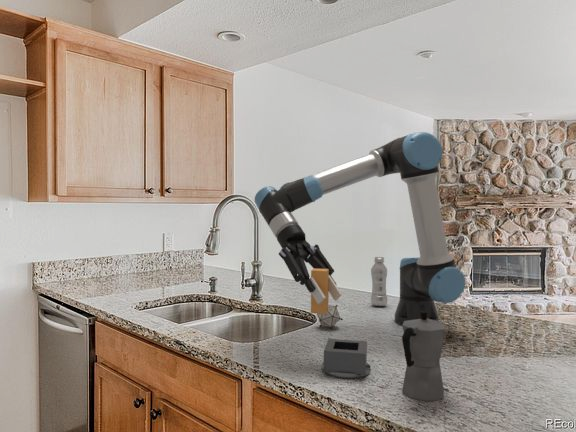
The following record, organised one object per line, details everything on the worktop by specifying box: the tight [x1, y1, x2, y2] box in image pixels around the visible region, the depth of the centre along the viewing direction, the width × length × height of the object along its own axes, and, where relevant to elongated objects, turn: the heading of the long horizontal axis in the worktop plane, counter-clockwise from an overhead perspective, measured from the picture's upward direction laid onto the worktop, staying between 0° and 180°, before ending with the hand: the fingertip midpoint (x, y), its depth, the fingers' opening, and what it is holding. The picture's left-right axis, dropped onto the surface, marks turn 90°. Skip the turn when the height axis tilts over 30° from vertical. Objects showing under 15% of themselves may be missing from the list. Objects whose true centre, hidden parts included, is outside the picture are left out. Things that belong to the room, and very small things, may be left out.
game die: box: [316, 304, 344, 331], centre depth 149 cm, size 9×8×10 cm
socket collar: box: [321, 338, 371, 380], centre depth 111 cm, size 12×12×6 cm
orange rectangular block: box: [310, 268, 329, 314], centre depth 116 cm, size 4×4×11 cm
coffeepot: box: [401, 311, 446, 402], centre depth 96 cm, size 15×9×18 cm, turn 137°
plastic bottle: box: [370, 256, 388, 308], centre depth 181 cm, size 6×7×20 cm
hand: (330, 299), depth 113 cm, fingers closed on orange rectangular block, 6 cm apart
